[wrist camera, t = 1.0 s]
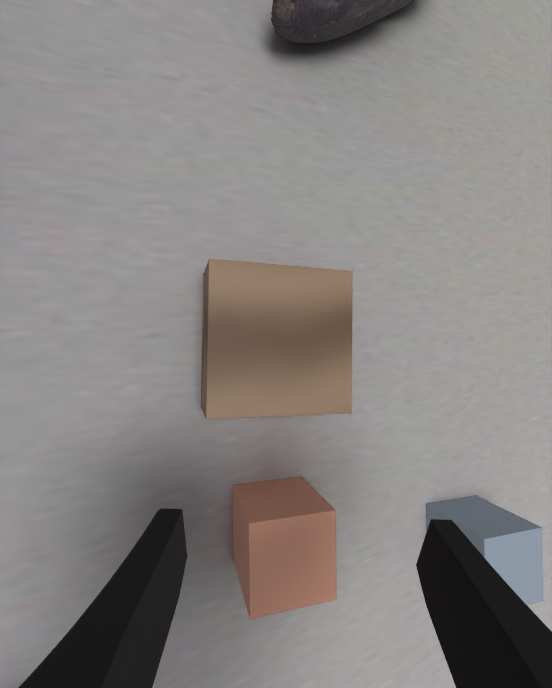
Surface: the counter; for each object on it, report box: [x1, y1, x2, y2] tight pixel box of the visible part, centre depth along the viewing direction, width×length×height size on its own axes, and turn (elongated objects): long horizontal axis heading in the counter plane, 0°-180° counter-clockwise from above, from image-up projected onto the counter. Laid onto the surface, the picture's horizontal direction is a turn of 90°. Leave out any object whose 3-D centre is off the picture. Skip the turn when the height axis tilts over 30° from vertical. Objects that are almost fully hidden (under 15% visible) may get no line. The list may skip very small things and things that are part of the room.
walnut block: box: [201, 259, 353, 419], centre depth 20 cm, size 8×8×4 cm
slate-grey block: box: [426, 496, 543, 605], centre depth 23 cm, size 4×4×5 cm
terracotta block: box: [233, 477, 337, 619], centre depth 20 cm, size 4×4×5 cm
